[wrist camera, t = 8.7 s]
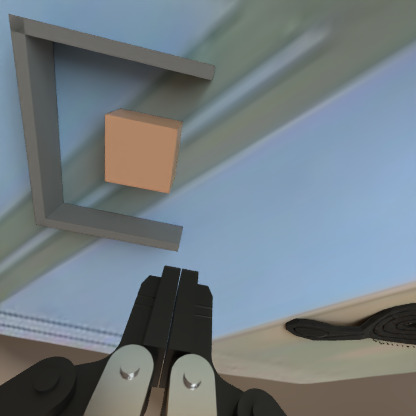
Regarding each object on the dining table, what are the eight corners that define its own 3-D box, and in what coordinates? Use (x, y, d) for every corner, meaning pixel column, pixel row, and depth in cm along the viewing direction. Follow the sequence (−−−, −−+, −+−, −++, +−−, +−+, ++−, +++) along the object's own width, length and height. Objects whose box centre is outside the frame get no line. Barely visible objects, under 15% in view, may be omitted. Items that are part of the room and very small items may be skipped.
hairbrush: (291, 320, 33) (498, 325, 31) (286, 299, 37) (473, 301, 34) (286, 357, 37) (470, 363, 35) (282, 334, 41) (450, 339, 38)
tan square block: (121, 108, 24) (105, 114, 20) (183, 121, 24) (177, 129, 21) (119, 167, 27) (105, 181, 23) (175, 177, 27) (168, 193, 24)
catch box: (39, 23, 21) (8, 13, 18) (215, 67, 22) (215, 65, 19) (55, 208, 29) (36, 224, 26) (181, 233, 30) (177, 251, 27)
